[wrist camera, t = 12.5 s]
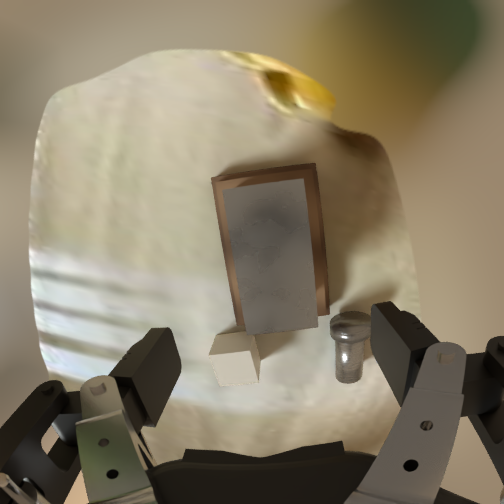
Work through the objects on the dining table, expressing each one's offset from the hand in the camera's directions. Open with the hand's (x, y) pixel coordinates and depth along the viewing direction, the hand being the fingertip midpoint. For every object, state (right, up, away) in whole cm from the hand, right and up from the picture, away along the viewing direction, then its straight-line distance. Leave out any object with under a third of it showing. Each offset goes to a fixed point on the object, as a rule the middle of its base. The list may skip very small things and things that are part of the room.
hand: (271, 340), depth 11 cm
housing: (+1, +4, +13) cm, 14 cm away
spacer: (-2, -7, +19) cm, 20 cm away
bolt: (+9, -7, +18) cm, 21 cm away
